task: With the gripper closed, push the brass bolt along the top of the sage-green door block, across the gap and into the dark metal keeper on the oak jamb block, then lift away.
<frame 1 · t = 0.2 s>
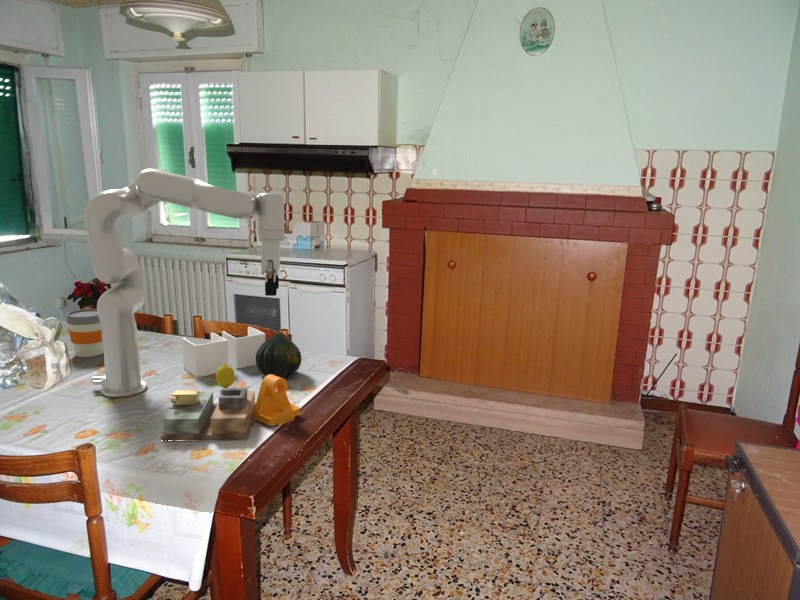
hand: (272, 292, 170), 31 cm above the table, tool pointing down, fingers open, 9 cm apart
lemon: (225, 389, 175), on the table
bracket: (277, 419, 155), on the table
brass bolt: (185, 398, 147), point 8 cm above the table, slide at 0.0 cm
storage container: (225, 366, 196), on the table
reusable coffee cup: (90, 353, 203), on the table
squash: (278, 375, 188), on the table
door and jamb: (212, 423, 151), on the table
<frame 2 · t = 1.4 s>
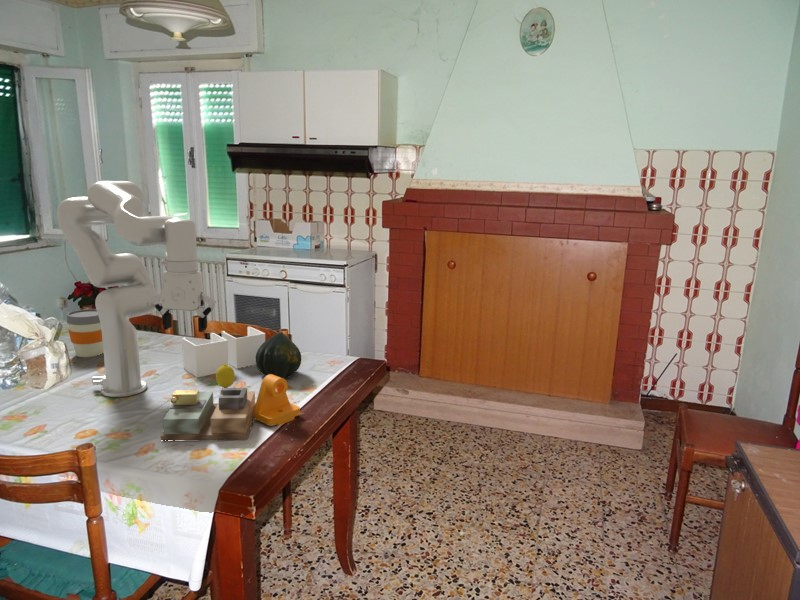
hand: (185, 329, 151), 24 cm above the table, tool pointing down, fingers open, 9 cm apart
nothing on the table moved.
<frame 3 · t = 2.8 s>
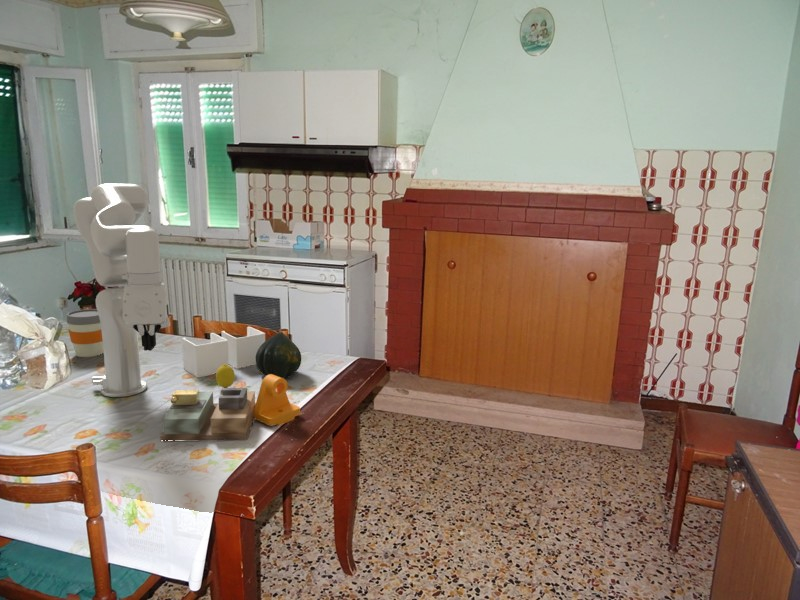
hand: (149, 348, 144), 21 cm above the table, tool pointing down, fingers closed
nothing on the table moved.
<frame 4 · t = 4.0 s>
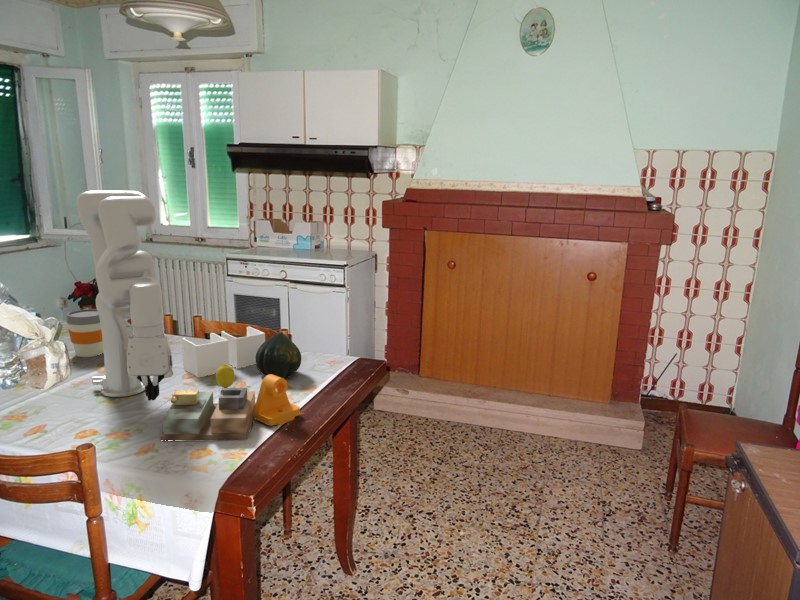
hand: (152, 398, 147), 8 cm above the table, tool pointing down, fingers closed
nothing on the table moved.
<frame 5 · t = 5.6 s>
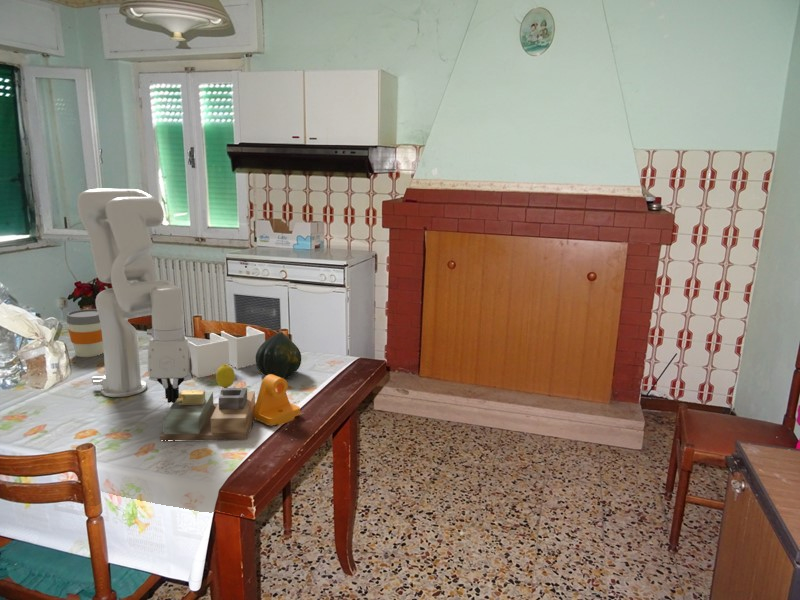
hand: (172, 400, 148), 7 cm above the table, tool pointing down, fingers closed
brass bolt: (191, 398, 148), point 8 cm above the table, slide at 1.6 cm, touching gripper
everything else where it was.
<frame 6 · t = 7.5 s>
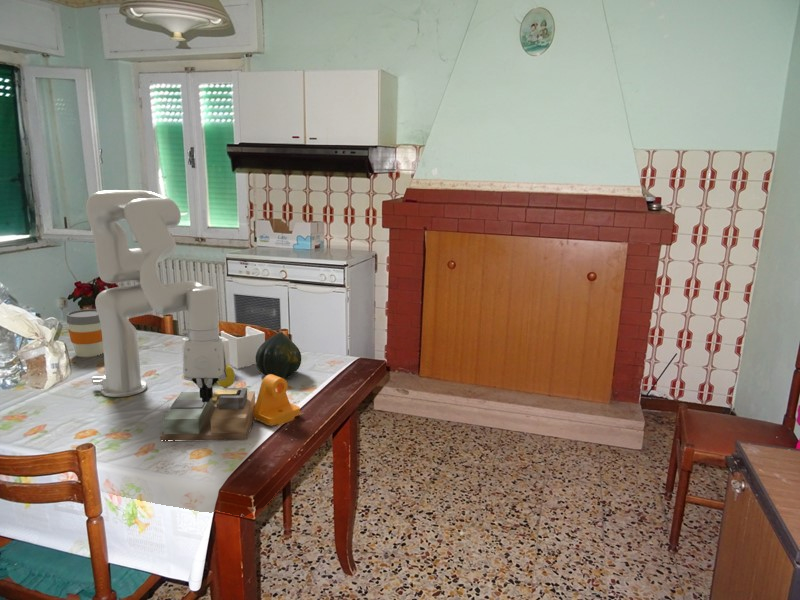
hand: (206, 400, 149), 7 cm above the table, tool pointing down, fingers closed
brass bolt: (225, 398, 149), point 8 cm above the table, slide at 10.2 cm, touching gripper
everything else where it was.
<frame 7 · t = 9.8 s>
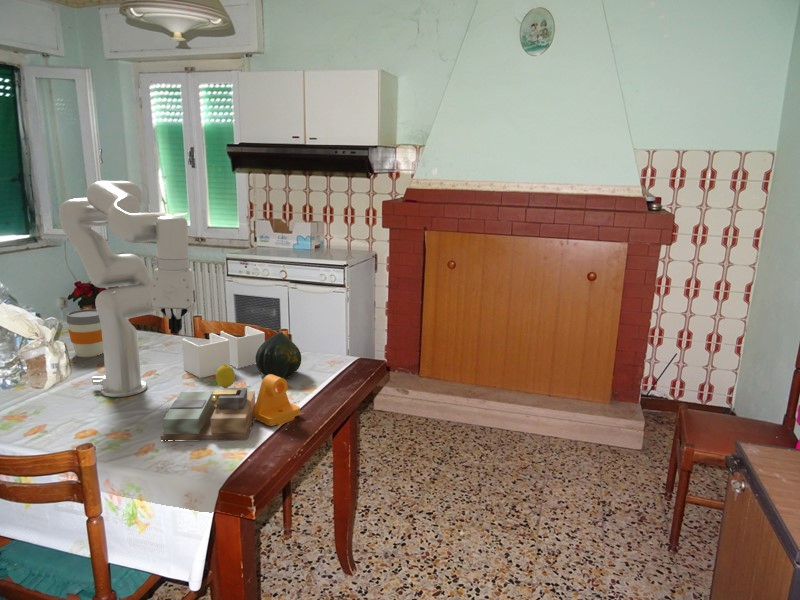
hand: (175, 331, 150), 24 cm above the table, tool pointing down, fingers closed
brass bolt: (224, 398, 149), point 8 cm above the table, slide at 10.0 cm
everything else where it was.
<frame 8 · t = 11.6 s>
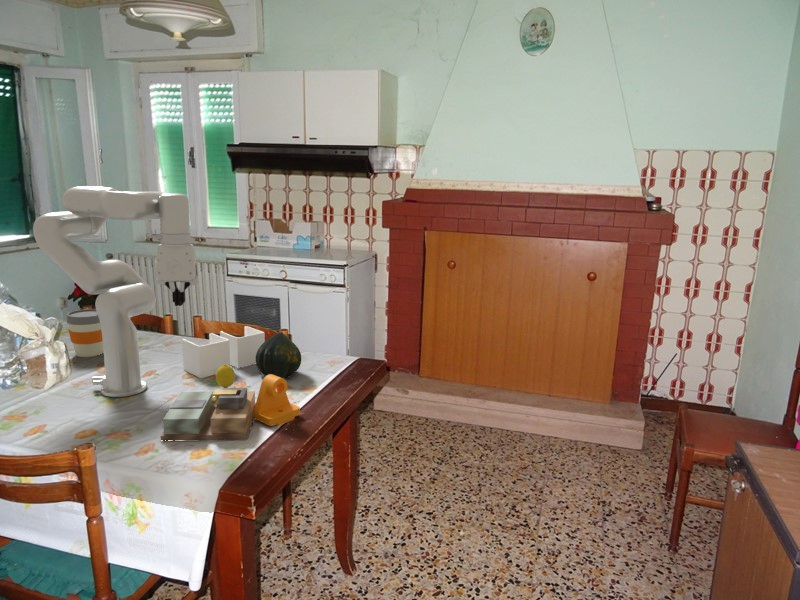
hand: (179, 304, 158), 29 cm above the table, tool pointing down, fingers closed
nothing on the table moved.
at the end: brass bolt slide at 10.0 cm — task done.
